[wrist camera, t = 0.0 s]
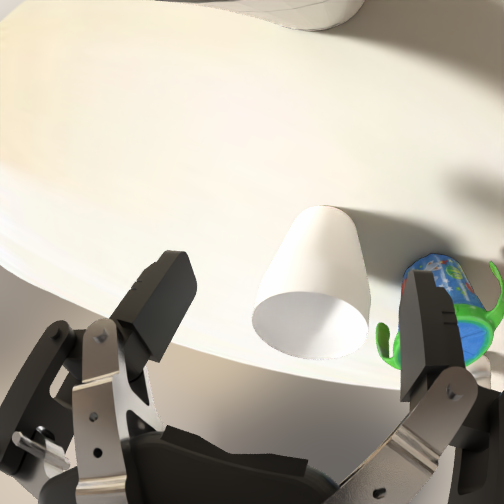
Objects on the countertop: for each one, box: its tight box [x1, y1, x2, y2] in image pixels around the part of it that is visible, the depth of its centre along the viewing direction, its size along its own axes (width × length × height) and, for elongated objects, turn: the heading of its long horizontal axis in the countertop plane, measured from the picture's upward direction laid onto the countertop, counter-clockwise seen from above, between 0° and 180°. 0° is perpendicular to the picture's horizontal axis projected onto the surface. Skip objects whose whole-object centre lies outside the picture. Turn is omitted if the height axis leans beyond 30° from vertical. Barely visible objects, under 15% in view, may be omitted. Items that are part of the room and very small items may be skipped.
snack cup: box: [376, 254, 504, 370], centre depth 25 cm, size 16×10×10 cm
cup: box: [252, 206, 371, 360], centre depth 25 cm, size 9×9×12 cm
